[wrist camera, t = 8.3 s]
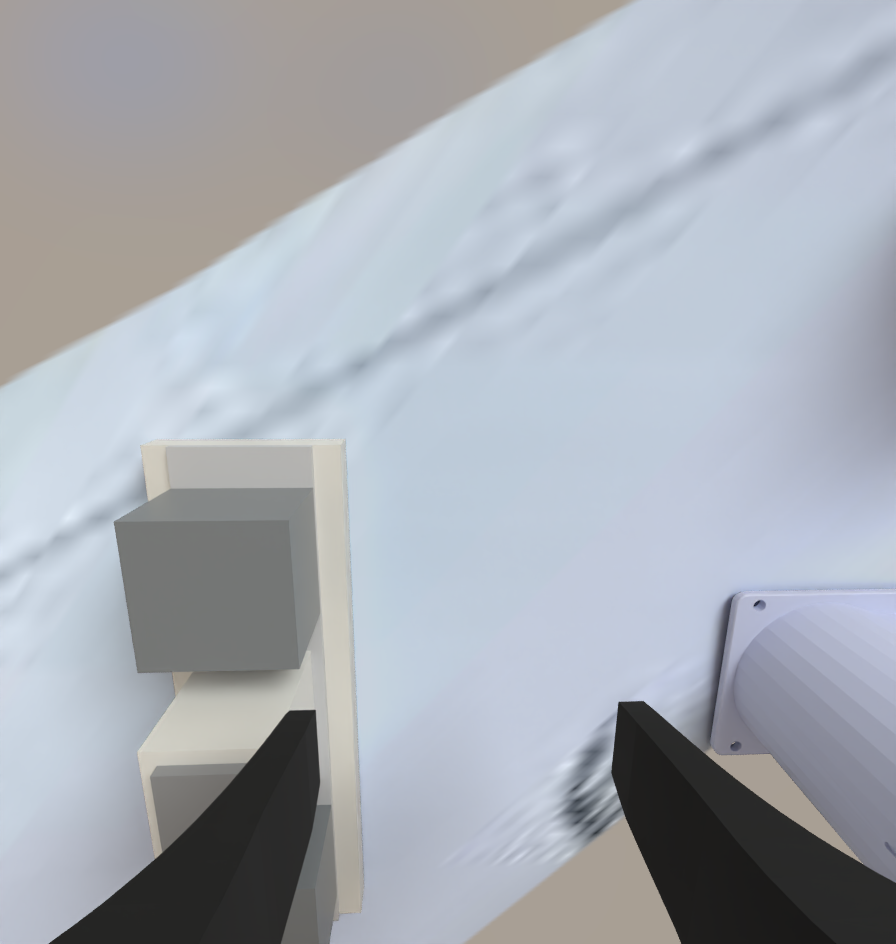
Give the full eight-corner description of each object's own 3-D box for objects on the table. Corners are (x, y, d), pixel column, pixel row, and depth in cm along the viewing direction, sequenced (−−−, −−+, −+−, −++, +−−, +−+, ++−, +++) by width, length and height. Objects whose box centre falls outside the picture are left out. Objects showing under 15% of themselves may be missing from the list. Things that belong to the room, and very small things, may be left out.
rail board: (345, 438, 20) (320, 470, 15) (364, 886, 25) (349, 1016, 20) (157, 439, 19) (69, 471, 15) (216, 892, 25) (166, 1025, 20)
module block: (310, 650, 20) (271, 758, 15) (319, 778, 22) (286, 916, 16) (205, 653, 20) (129, 763, 15) (221, 781, 22) (156, 922, 16)
